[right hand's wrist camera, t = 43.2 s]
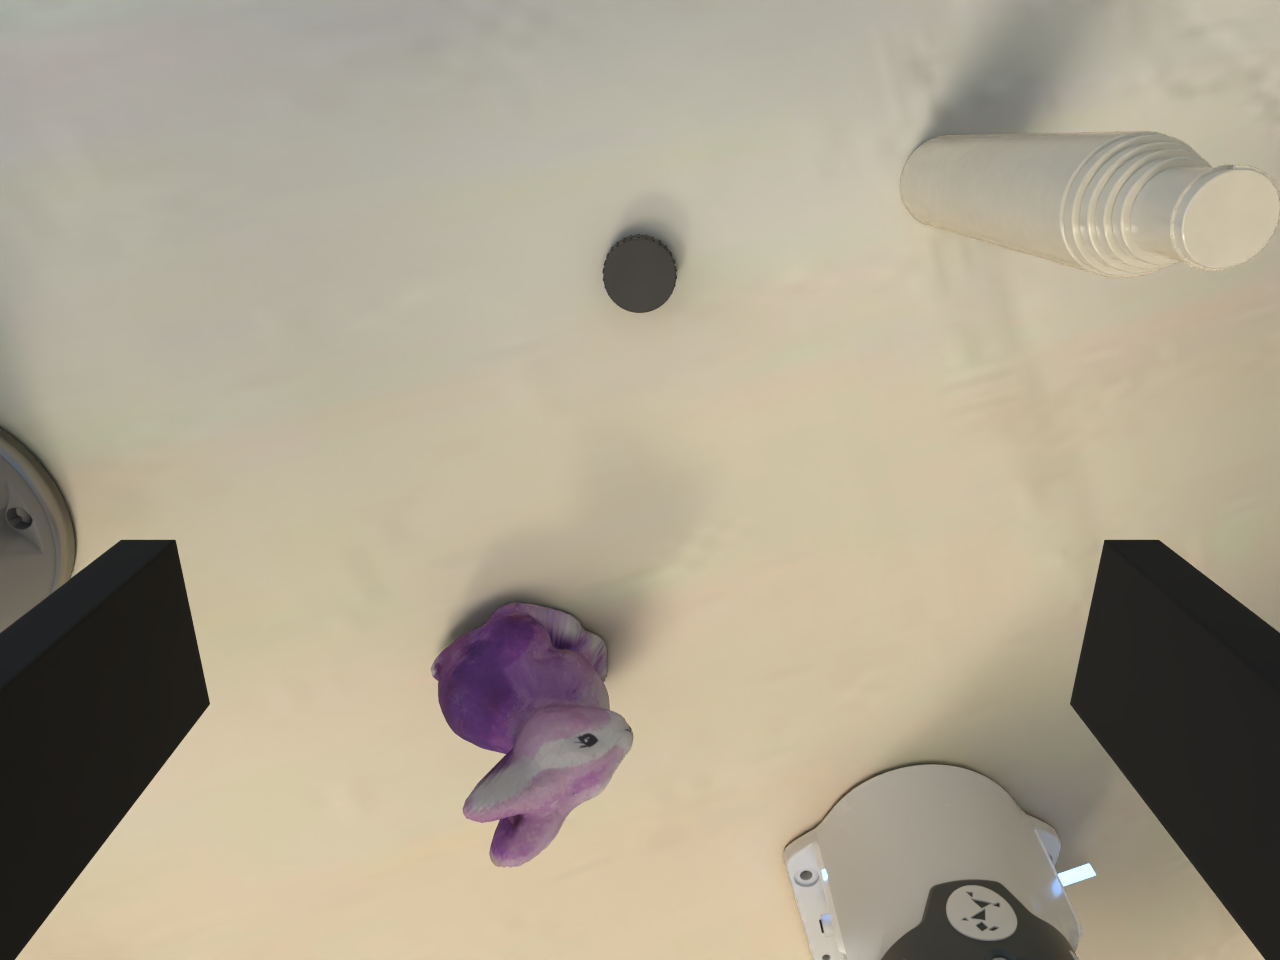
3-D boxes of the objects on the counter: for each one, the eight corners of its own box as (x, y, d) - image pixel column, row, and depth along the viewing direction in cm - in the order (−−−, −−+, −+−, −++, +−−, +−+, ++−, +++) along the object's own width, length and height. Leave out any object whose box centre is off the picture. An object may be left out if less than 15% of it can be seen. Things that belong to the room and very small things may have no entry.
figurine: (648, 651, 55) (651, 824, 41) (534, 742, 58) (501, 934, 44) (542, 552, 53) (507, 700, 39) (428, 652, 55) (356, 825, 41)
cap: (624, 220, 46) (624, 223, 44) (688, 256, 47) (690, 261, 45) (591, 285, 47) (589, 291, 45) (654, 319, 48) (654, 327, 46)
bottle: (978, 227, 46) (1290, 307, 24) (894, 224, 46) (1127, 301, 24) (994, 136, 45) (1342, 132, 22) (906, 133, 45) (1169, 125, 22)
